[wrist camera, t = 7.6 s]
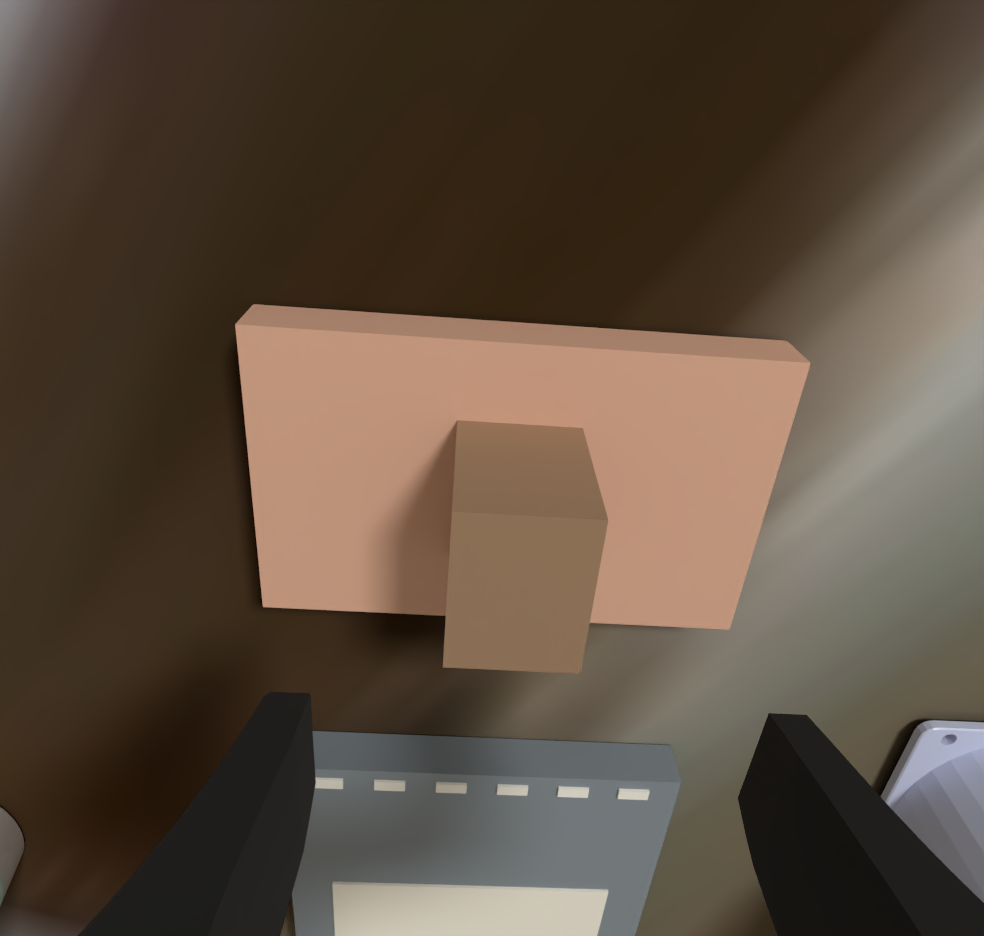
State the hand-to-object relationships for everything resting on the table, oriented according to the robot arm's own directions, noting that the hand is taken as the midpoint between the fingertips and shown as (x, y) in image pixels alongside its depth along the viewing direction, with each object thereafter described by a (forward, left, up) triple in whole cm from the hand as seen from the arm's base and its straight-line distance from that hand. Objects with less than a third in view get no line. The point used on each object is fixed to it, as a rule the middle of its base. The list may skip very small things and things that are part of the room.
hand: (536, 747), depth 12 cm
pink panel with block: (0, 0, -9) cm, 9 cm away
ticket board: (0, +17, -9) cm, 19 cm away
